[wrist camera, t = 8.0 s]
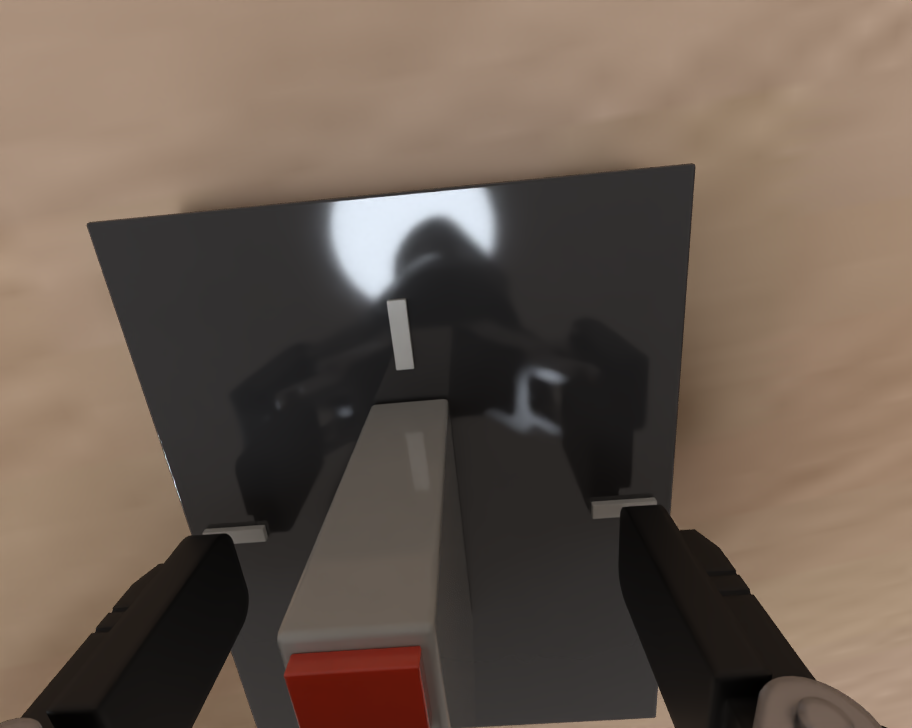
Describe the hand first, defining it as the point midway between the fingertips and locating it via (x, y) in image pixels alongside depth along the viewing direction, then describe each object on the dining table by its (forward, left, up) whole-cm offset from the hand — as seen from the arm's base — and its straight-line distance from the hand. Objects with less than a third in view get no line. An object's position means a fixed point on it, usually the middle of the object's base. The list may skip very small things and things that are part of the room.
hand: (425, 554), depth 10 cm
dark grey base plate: (0, 0, -4) cm, 4 cm away
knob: (0, 0, -1) cm, 1 cm away
